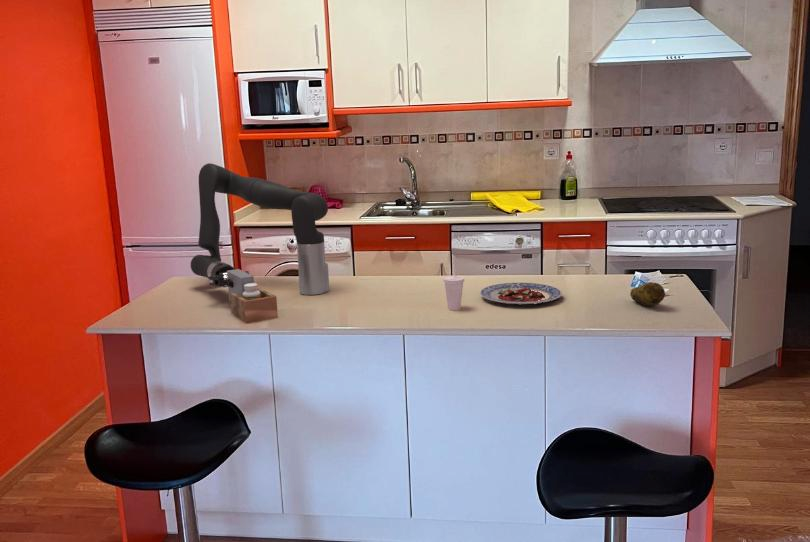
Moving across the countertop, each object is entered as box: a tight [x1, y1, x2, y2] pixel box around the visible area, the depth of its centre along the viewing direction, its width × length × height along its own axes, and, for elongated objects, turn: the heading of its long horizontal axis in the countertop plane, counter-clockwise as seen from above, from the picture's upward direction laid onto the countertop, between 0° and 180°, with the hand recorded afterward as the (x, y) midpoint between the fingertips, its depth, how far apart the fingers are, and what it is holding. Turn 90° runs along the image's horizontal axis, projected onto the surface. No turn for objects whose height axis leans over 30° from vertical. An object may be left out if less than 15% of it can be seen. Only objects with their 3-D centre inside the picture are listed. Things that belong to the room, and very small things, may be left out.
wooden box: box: [229, 287, 279, 324], centre depth 228 cm, size 13×10×6 cm
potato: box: [629, 282, 666, 306], centre depth 224 cm, size 8×13×8 cm, turn 176°
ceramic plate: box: [479, 282, 563, 305], centre depth 238 cm, size 26×26×3 cm
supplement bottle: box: [243, 282, 261, 300], centre depth 228 cm, size 5×5×10 cm
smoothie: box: [443, 263, 465, 311], centre depth 227 cm, size 6×6×14 cm
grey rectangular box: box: [227, 268, 255, 302], centre depth 235 cm, size 13×4×10 cm, turn 32°
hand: (239, 283), depth 236 cm, fingers closed on grey rectangular box, 4 cm apart
